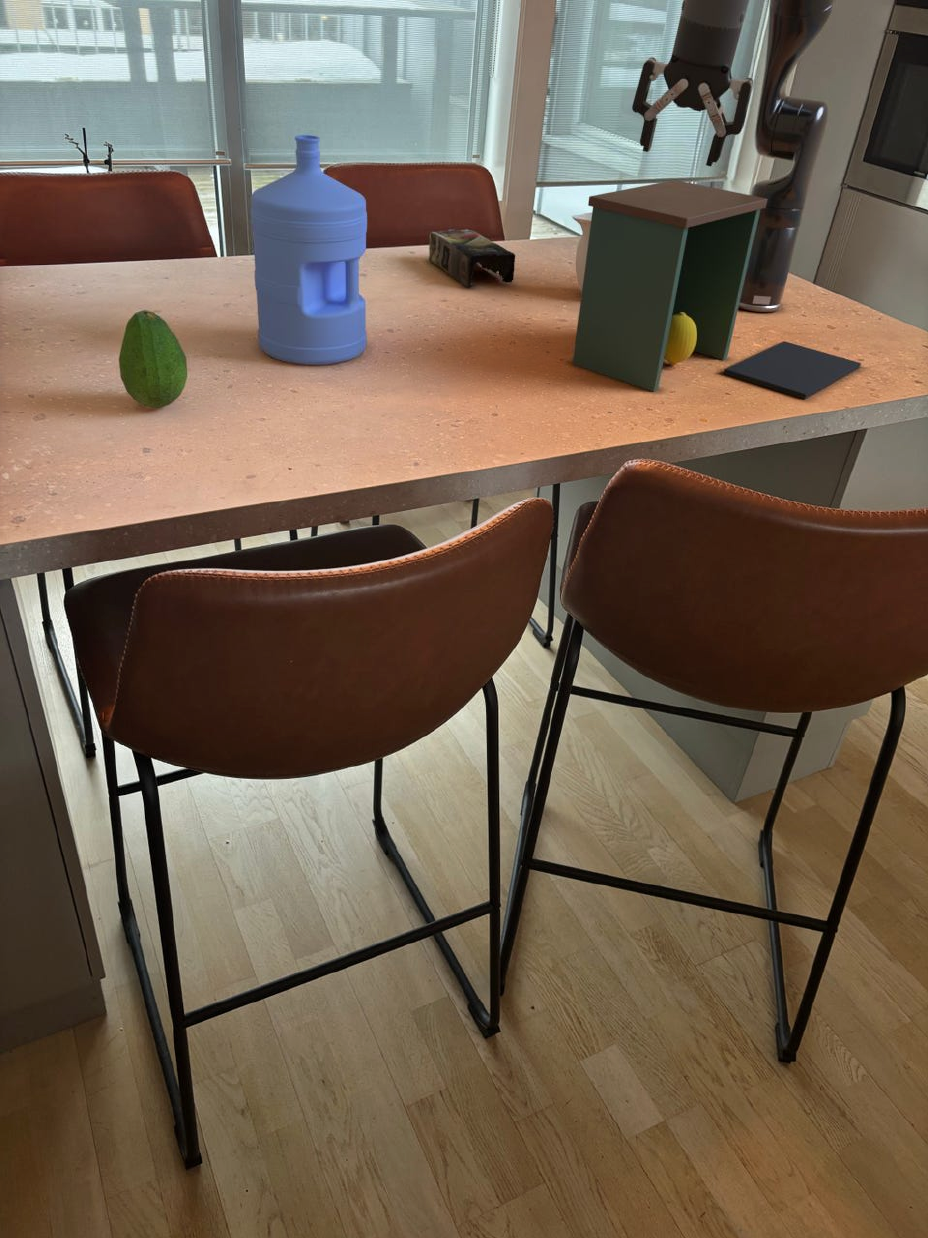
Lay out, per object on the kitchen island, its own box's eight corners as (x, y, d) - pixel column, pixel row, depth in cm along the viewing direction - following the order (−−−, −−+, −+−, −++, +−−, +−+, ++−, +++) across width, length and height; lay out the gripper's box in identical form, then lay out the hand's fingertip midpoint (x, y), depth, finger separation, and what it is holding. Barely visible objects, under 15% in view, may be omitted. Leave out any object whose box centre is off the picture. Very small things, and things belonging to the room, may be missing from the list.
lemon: (669, 373, 140) (679, 319, 136) (646, 361, 144) (655, 308, 140) (698, 369, 142) (709, 316, 138) (675, 357, 146) (685, 304, 142)
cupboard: (648, 333, 155) (675, 179, 142) (731, 358, 148) (767, 198, 134) (567, 363, 141) (588, 196, 128) (654, 393, 133) (687, 218, 120)
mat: (782, 345, 154) (784, 340, 154) (859, 367, 148) (861, 362, 147) (723, 373, 142) (724, 368, 141) (804, 399, 135) (806, 394, 134)
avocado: (129, 421, 115) (115, 322, 108) (121, 397, 121) (106, 302, 114) (196, 414, 118) (186, 317, 111) (185, 391, 123) (175, 298, 117)
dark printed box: (423, 258, 184) (425, 225, 181) (469, 257, 188) (472, 224, 184) (466, 289, 169) (468, 254, 166) (515, 287, 173) (518, 252, 170)
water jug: (238, 354, 136) (222, 137, 120) (291, 324, 148) (283, 123, 132) (337, 374, 132) (334, 152, 116) (383, 341, 144) (386, 136, 128)
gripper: (775, 21, 115) (734, 160, 127) (661, -2, 118) (632, 136, 129) (767, 34, 110) (726, 178, 122) (648, 10, 113) (619, 153, 124)
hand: (677, 156), depth 126 cm, fingers open, 8 cm apart
